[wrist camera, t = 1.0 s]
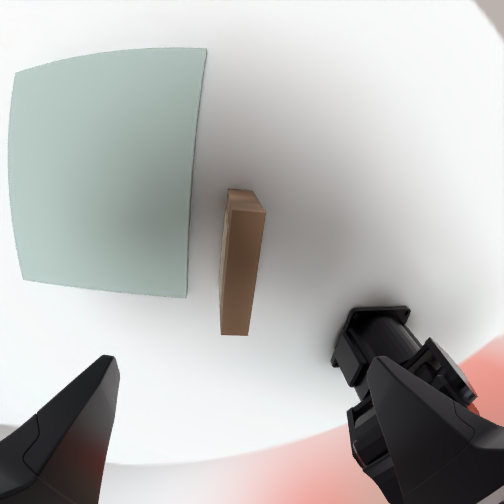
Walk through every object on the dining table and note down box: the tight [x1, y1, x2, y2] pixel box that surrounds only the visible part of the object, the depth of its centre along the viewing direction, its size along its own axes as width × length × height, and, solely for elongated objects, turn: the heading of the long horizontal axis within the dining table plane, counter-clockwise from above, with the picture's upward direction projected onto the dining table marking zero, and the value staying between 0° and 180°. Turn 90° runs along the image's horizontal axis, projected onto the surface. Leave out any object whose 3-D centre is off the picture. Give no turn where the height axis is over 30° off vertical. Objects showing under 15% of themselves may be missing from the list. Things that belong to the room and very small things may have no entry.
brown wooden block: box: [219, 189, 266, 336], centre depth 16 cm, size 2×7×5 cm, turn 173°
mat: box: [8, 48, 207, 298], centre depth 15 cm, size 14×16×1 cm
